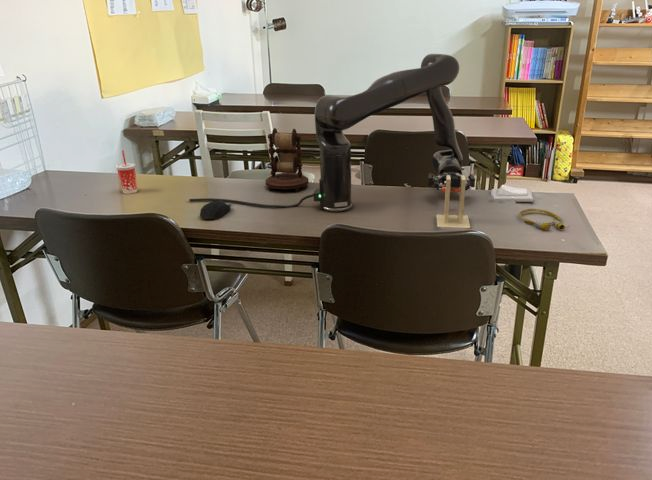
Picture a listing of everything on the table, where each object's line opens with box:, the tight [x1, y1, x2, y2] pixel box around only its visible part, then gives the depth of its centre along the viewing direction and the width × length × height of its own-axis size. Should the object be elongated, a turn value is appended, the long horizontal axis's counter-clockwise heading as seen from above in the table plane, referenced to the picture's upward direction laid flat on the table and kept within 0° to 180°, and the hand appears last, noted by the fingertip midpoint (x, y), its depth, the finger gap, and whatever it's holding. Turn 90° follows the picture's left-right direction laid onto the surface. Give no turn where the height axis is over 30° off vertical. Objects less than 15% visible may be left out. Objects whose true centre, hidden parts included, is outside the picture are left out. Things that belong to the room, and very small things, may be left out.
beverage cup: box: [115, 150, 138, 195], centre depth 186 cm, size 6×6×14 cm
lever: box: [441, 179, 460, 193], centre depth 158 cm, size 13×6×2 cm, turn 174°
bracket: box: [436, 174, 471, 229], centre depth 155 cm, size 10×9×14 cm
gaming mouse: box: [199, 200, 232, 220], centre depth 168 cm, size 6×15×4 cm, turn 163°
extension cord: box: [518, 208, 565, 231], centre depth 160 cm, size 12×16×2 cm
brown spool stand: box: [264, 127, 310, 192], centre depth 188 cm, size 15×15×20 cm
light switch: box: [490, 184, 534, 203], centre depth 180 cm, size 11×4×13 cm
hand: (452, 187), depth 166 cm, fingers open, 8 cm apart
